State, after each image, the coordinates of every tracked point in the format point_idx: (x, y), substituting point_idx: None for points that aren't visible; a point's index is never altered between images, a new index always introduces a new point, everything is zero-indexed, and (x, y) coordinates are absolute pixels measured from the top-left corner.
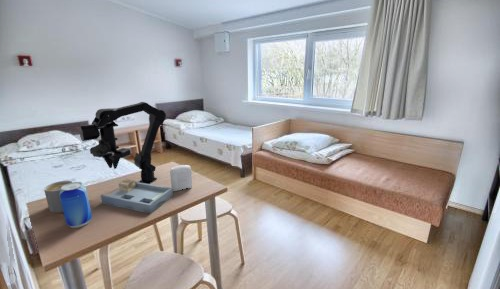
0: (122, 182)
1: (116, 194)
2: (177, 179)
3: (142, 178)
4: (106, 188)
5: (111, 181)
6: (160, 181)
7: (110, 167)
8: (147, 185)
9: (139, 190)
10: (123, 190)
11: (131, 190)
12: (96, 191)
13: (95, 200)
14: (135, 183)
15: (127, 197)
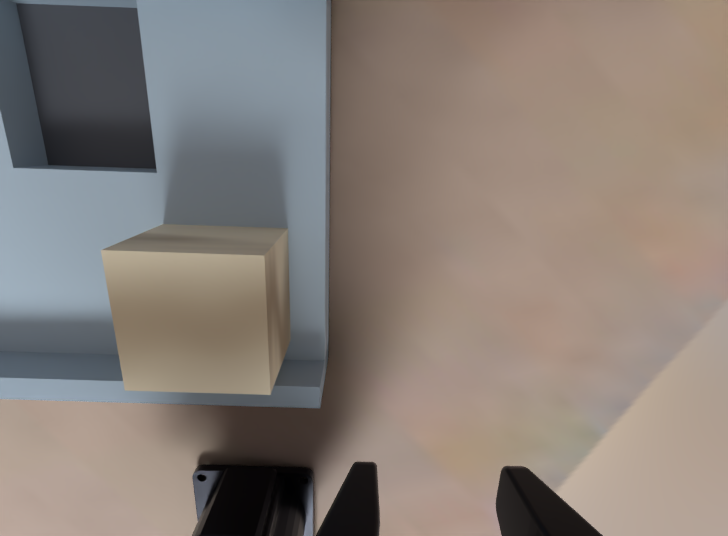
0: (224, 288)
1: (248, 139)
2: None
3: (248, 500)
4: (535, 284)
5: (589, 412)
6: (144, 520)
7: (507, 483)
8: (3, 373)
9: (85, 296)
10: (224, 228)
11: None
12: (595, 201)
13: (456, 21)
14: None
15: (146, 169)
